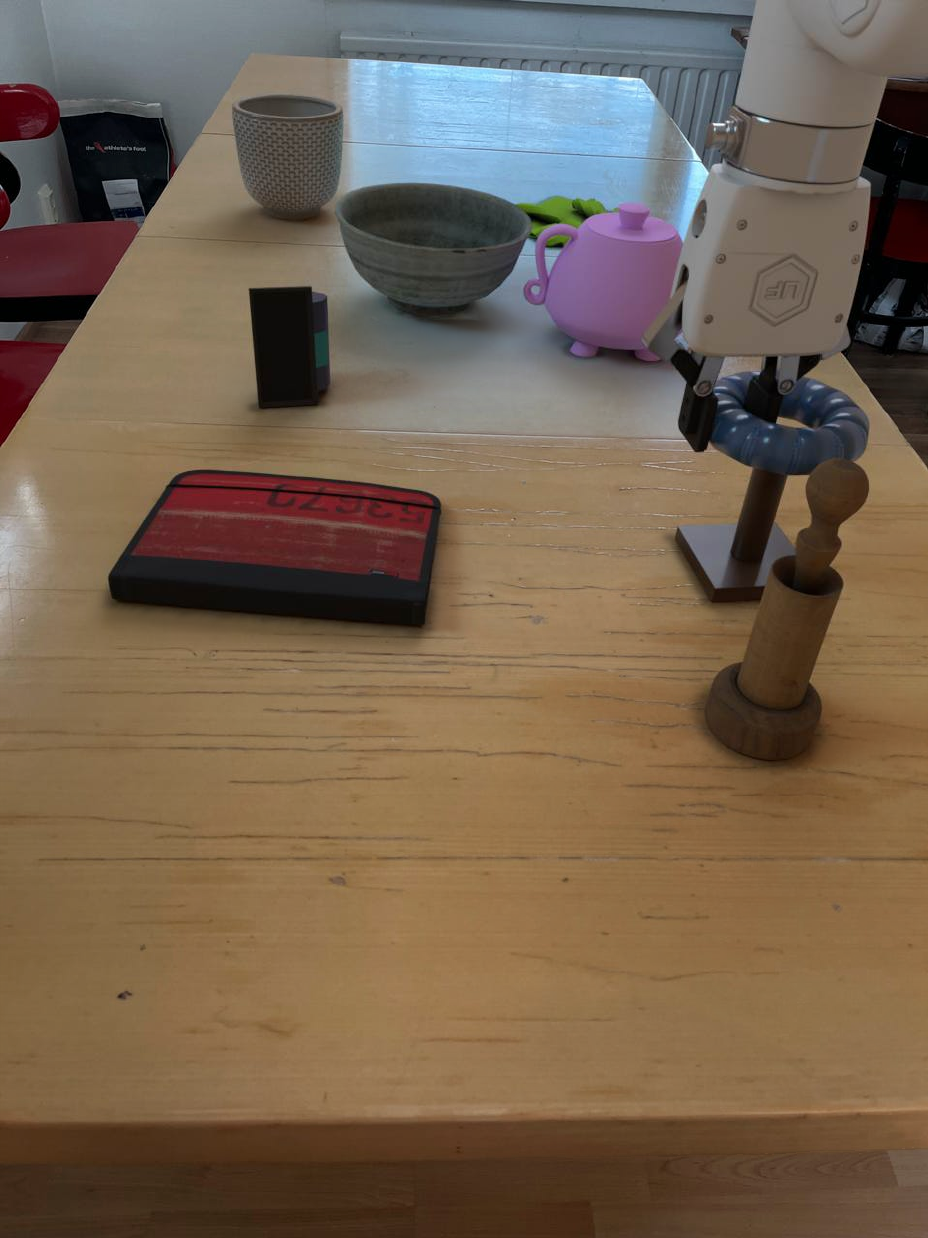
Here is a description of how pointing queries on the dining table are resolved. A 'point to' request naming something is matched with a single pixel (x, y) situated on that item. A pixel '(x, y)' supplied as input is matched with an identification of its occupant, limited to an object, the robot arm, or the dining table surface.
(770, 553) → the stand
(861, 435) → the blue ring
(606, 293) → the teapot
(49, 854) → the dining table surface
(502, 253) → the bowl
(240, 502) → the ink pad
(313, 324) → the speaker
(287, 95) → the planter
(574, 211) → the cloth
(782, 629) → the mortar and pestle
